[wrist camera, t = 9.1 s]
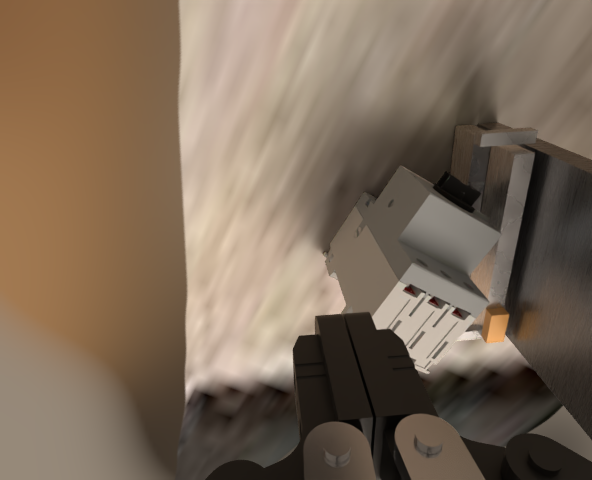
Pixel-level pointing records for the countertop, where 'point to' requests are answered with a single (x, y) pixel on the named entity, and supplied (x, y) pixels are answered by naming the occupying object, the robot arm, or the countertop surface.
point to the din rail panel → (551, 270)
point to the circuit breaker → (414, 261)
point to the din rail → (494, 216)
